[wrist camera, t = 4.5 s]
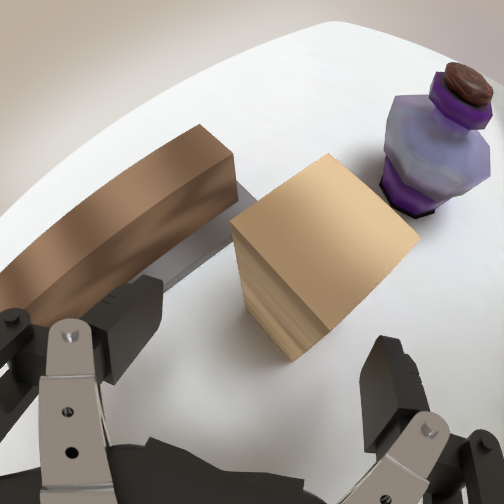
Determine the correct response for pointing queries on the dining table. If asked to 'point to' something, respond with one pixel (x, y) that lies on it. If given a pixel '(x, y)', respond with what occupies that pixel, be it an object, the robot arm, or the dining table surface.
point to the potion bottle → (437, 142)
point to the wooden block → (315, 252)
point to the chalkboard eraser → (131, 231)
